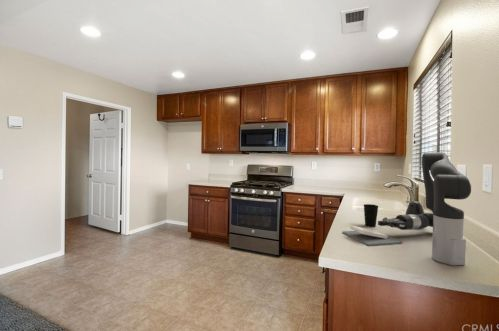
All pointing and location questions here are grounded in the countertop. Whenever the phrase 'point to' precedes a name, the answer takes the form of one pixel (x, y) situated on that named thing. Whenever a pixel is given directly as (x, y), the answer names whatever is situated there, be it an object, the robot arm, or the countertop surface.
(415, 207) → the pump dispenser
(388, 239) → the mat
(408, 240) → the countertop surface
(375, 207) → the cup
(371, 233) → the tile
